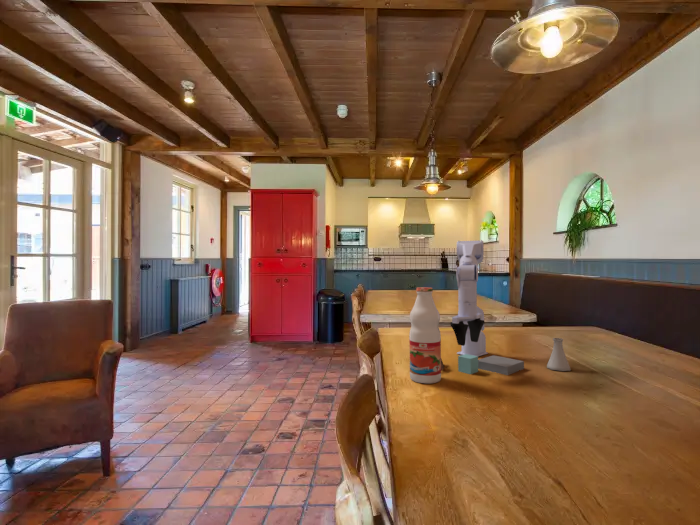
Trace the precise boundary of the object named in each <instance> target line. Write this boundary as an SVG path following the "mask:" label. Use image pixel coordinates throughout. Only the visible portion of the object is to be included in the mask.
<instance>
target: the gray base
mask: <svg viewBox="0 0 700 525" xmlns="http://www.w3.org/2000/svg"><path fill="white" fill-rule="evenodd" d="M479 369H480V370H483V371H487V372H491V373H495V372H496V373H497V374H500V375H504V376H509V375H512V374H515V373H518V372H520V371H522V370H524V369H525V361H524V360H519V359H514V358H510V357H504V356H499V355H494V354H492V355H490V356H485V357H483V358H478V370H479ZM519 370H520V371H519Z"/></svg>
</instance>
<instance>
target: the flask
mask: <svg viewBox="0 0 700 525" xmlns="http://www.w3.org/2000/svg"><path fill="white" fill-rule="evenodd" d="M552 341H553V347H552V352H551V354H550V357H549V359H548V362H547V364H546V368H547V369H548V370H551V371H559V372H570V371H571V366H570V364H569V361H568V359H567V357H566V353H565V351H564V346H563V342H564V338H561V337H553V338H552Z"/></svg>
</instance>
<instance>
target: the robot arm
mask: <svg viewBox="0 0 700 525" xmlns="http://www.w3.org/2000/svg"><path fill="white" fill-rule="evenodd" d="M484 251H485V250H484V240H482V239H480V240H457V241H456V256H457V261H458V264H459V266H457V267H456V282H457V288H458V291H457V292H458V294H457V296H458V299H457V300H458V301H457V302H458V310H457V315H455V316H451V321H450V327H451V328H452V330H453V332H454V335H455V338H456V342H457V345H458V346H461V350H460V351H458V352H456V355H460V356H461V355H464V354H468V355H473V356H478V357H481V356H484V355H487V354H489V353H488V352H487V346H486V345H487V343H486V342H487V341H486V339H487V338H486V335H485V333H484V330H485V312H484V310H483V309H482V308H481V307H479V306H478V303H477V301H478V299H477V297H478V296H477V294H478V293H477V292H478V291H477V290H478V289H477V286H478V285H477V283H478V281H479V272H478V271H479V266H478V265H479V264H481V263H483V260H484V255H485V253H484Z"/></svg>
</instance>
